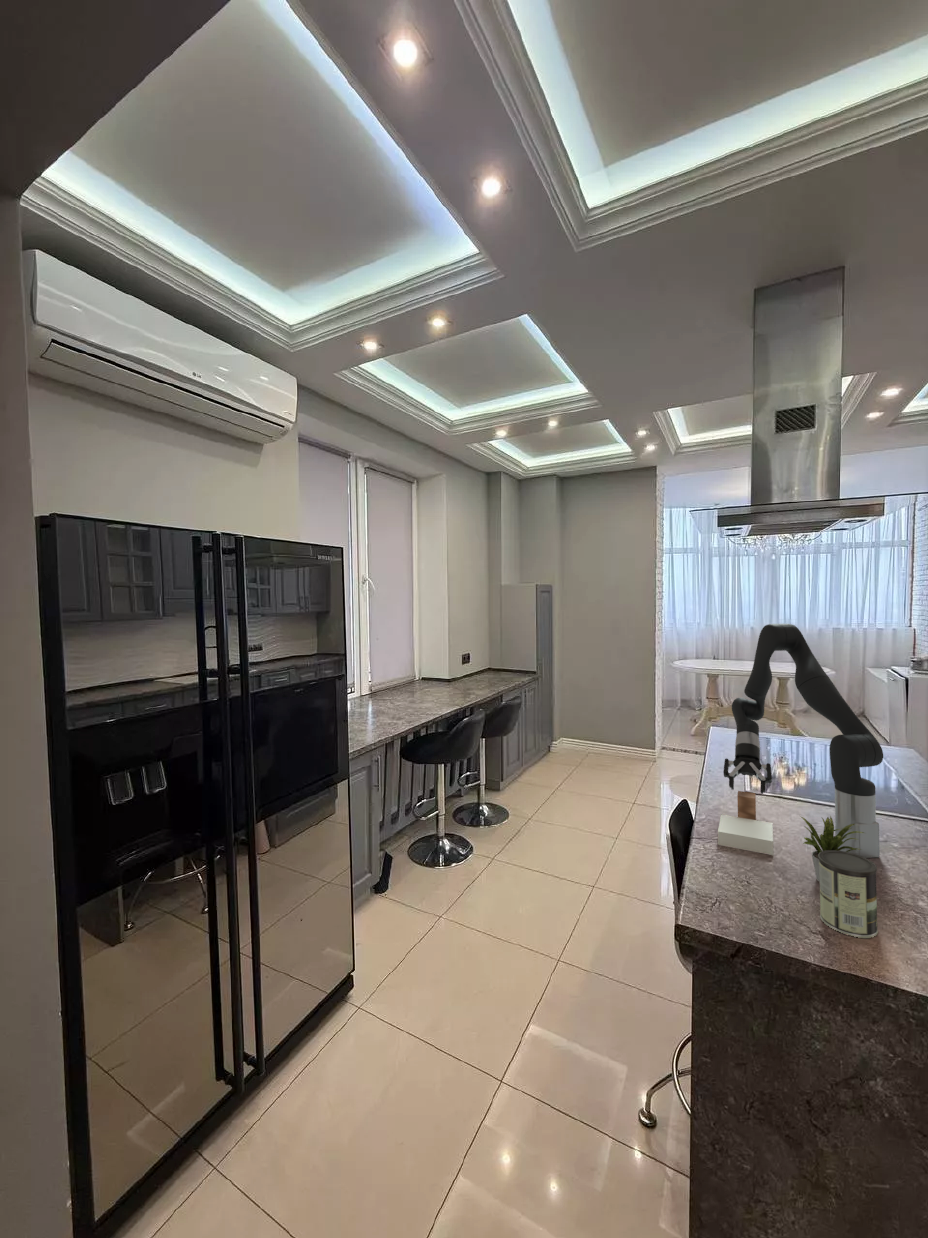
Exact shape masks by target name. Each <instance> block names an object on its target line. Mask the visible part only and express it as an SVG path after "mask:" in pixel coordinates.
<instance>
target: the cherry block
mask: <svg viewBox="0 0 928 1238" xmlns="http://www.w3.org/2000/svg"><path fill="white" fill-rule="evenodd" d="M756 796H757V795H756V793H755V792H750V791H741V790H737V796H736V797H737V817H740V818H746V819H752V820H757V810H756V809H757V803H756V802H757V800H756Z"/></svg>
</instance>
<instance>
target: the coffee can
mask: <svg viewBox="0 0 928 1238" xmlns="http://www.w3.org/2000/svg"><path fill="white" fill-rule="evenodd" d="M818 858H819V878H820V882H819V909H820V911H819V918H820V920H821V921H822V923H823V922H824V923H823V924H824V925H825V926H827V927H828V926H829V927H828V928H830V929H831V928H832V929H831V930H833V929H834V931H835V930H836V931H835V932H837V931H839V932H841V933H840V934H842V933H844V934H848V935H851V936H854V937H853V938H856V937H858V939H872V938H875V937H877V935H878V934H879V930H878V910H877V909H878V908H877V907H878V906H877V905H878V904H877V903H878V902H877V872H878V868H877V865H876V864H875V863H874V862H873V861H872V860H870V859H869V858H864V857H862V856H859V855H856V854H853V853H849V852H845V851H840V850H839V851H838V850H826V851H823V850H822V852H820V853H819V854H818ZM839 932H838V933H839ZM844 934H843V935H844ZM848 935H847V936H848ZM851 936H850V937H851ZM874 936H875V937H874ZM871 937H872V938H871Z"/></svg>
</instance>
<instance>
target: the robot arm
mask: <svg viewBox="0 0 928 1238" xmlns="http://www.w3.org/2000/svg"><path fill="white" fill-rule="evenodd" d="M782 651H783V652H785V651H786V652H787V653H788V654H789V655H790V657H791V660H792V661H793V662H794V664H795V672H794V673H795V675H794V683H795V687H796V689H797V691H798V692H799V693H800V695H801V697H802V698H803V700H804V701H805V703H806V704H807V705H808V706H809V707H810V708H812V709H813V710H814V711H815V712H816V713H818V714H819V715H821V716H823V717H824V718H825V719H827V720H828V721H830V722H831V723H832V724H833V725H834V726H835V727H836V728H837V729H838V730H839V731H840V733H841V734H838V735H834V736H833V737H832V738H831V740H830V742H829V760H830V773H831V777H832V780H833V783H834V830H835V829H840V830H836V831H834V834H835V835H834V836H837V834H838V833H839V832H840V831H841V830H842V828H844V827H846V826H848V825H850V824H854V825H853V826H851V827H850V828H852V829H849V830H848V831H847V832H846V833H845V834H847V833H849V832H853V831H859V832H864V833H852V834H849V835H847V836H845V837H846V838H844V839H843V840H842V841H843V842H844V841H845V840H846V839H849V838H856V839H850V840H847V841H845V843H843V844H842V845H841V846H840V847H843V846H849V847H852V848H858V849H856V850H857V851H856V850H851V851H849V853H853V854H856V855H859V856H862V857H864V858H867V859H869V858H880V855H881V854H880V851H881V850H880V823H879V822H877V817H876V815H877V814H876V812H877V811H876V808H877V807H876V805H877V804H876V784H875V783H874V782H873V781H872V780H869V779H866V778H864V777H862V776H861V769H860V768H869V767H870V768H871V767H876V766H879V765H881V763H882V762H883V759H884V752H883V751H884V750H883V748H882V745H881V744H880V742H879V741H878V740H877V738H876V737H875V735H874V734H873V733H872V732H871V731H870V730H869V729H868V728H867V727H866V725H865V724H864V723H863V722H862V721H861V719H860V718H859V717H858V716H857V715H856V714H855V712H854V711H853V709H852V707H850V705H849V704H848V703H847V702H846V700H845V699H844V697H843V696H842V695H841V692H839V690H838V689H837V687H836V685H835V684H834V683H833V681H832V680H831V678H830V677H829V675H828V674H827V672H825V670H824V669H823V667H822V665H821V664H820V663H819V661H818V659H817V658H816V656H815V655H814V654H813V652H812V650H811V648H810V646H809V643H808V642H807V641H806V638H805V637H804V635H803V633H802V632H801V629H799V627H797V626H796V625H795V624H793V623H769V624H766V625H764V626H763V627H762V629H761V631H760V633H759V635H758V639H757V644H756V650H755V655H754V661H753V665H752V670H751V673H750V675H749V677H748V680H747V683H746V685H745V687H744V690H743V692H744V694H745V695H746V696H747V697H748V698H749V699H747V698H744V697H736V698H735V699H734V700H733V701H732V703H731V713H732V715H733V719H734V721H735V725H736V736H735V744H734V747H735V748H734V750H735V751H734V760H729V758H724V762H723V763H724V765H723V777H724V778H728V787H729V788H730V789H731V790H732V791H734V789H735V779H736V777H738V776H740V775H743V776H750V777H753V776H754V777H755V778H756V779H757V780H759V782H760V794H761V795H764V793H766V790H767V789H766V788H767V787H766V785H767V784H771V783H773V781H772V780H773V777H772V766H771V765H772V764H771V763H769V762H768V763H765V764H762V763H761V744H760V727H759V724H758V723H757V721H760V720H762V719H763V718H764V716H765V704H766V697H767V694H768V692H769V690H770V687H771V686H772V682H773V674H772V670H771V666H770V665H771V664H770V663H771V661H770V660H771V658H772V655H773V654H774V653H775V652H782ZM732 766H733V767H734V768H733V770H732V771H731V772H729V768H731V767H732ZM762 769H763V770H764V772H766V777H765V776H764V775H763V774H762V772H761V770H762ZM845 834H844V835H845ZM844 835H843V836H844ZM843 836H842V837H843ZM857 839H859V840H857ZM840 847H839V848H840ZM839 848H838V849H839ZM859 849H861V850H859ZM848 850H850V849H849V848H845V849H842V850H839V851H845V852H846V851H848Z"/></svg>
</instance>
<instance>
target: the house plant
mask: <svg viewBox="0 0 928 1238" xmlns="http://www.w3.org/2000/svg"><path fill="white" fill-rule="evenodd" d="M829 815H830V814H829ZM799 817H801V819H802V820H803V821H804V822H805V823H806V825H807V826H808V827H809V828H808V827H806V826H805V825H803V827H804V828H805V829H806V830H807V831H808V832H809V834H810V838H809V837H804V839H805V840H806V841H805V842H803V843H802V845H809V846H813V847H814V849H815V850H814V851H812V852H811V859H812V862H813V868H814V872H815V873H814V874H815V878H816V880H817V882H819V883H820V878H819V858H818V854H819V853H820V852H822V851H826V850H838V851H840V850H842V849H845V848H849V849H850V850H848V851H846V852H849V851H851V850H856V849H858V848H852V847H849V846H843V847H840V846H841V845H842V844H843V843H845V841H847V840H850V839H856V838H849V839H846V840H845V841H844V842H843V841H842V840H843V839H844V838H846V837H845V836H847V835H849V834H852V833H864V832H859V831H853V832H849V833H847V834H845V833H846V832H847V831H848V830H849V829H852V828H850V827H851V826H853V825H854V824H850V825H848V826H846V827H844V828H842V830H841V831H840V832H839V833H838V834H837V836H835V835H834V834H835V831H836V830H840V829H835V823H834V820H833V818H832V816H831V815H830V816H827V818H825V819H824V818H823V817H821V819H822V822H823V825H824V827H823V833H820V835H819V834H818V831H816V828H815V827H814V826H813V825H812V823H810V821H808V820H807V819H806V818H805V817H803V816H800V815H799ZM844 834H845V835H844ZM843 835H844V836H843ZM842 836H843V837H842ZM857 840H859V839H857ZM839 847H840V848H839ZM838 848H839V849H838ZM859 850H861V849H859ZM856 851H857V850H856Z"/></svg>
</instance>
